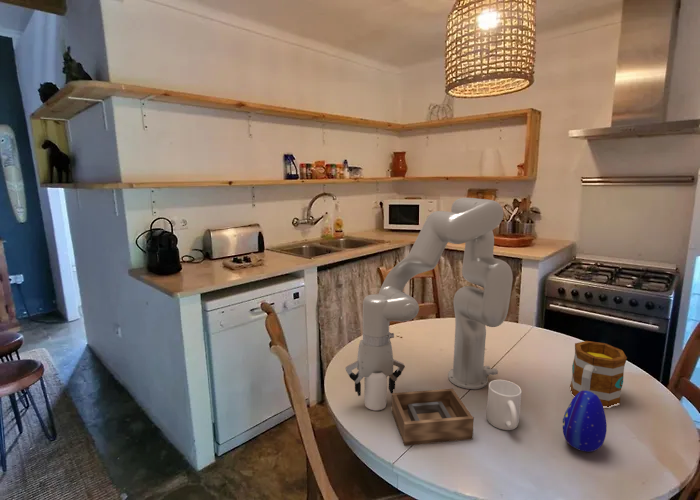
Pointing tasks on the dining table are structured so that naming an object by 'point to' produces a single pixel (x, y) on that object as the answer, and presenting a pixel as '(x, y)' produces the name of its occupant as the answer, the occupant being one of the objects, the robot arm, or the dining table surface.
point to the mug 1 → (503, 404)
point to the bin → (431, 416)
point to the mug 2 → (598, 371)
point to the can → (375, 391)
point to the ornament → (585, 422)
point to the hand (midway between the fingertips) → (374, 392)
